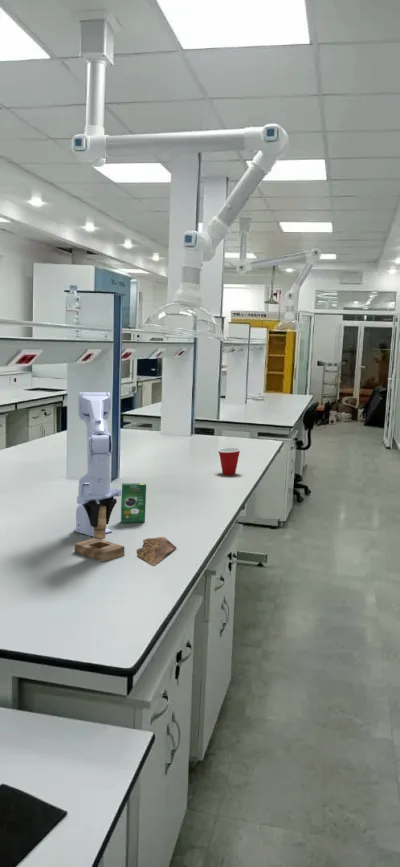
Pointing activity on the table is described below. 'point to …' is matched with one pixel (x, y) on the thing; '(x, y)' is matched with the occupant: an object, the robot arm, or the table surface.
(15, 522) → the table surface
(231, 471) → the plastic cup
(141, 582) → the table surface
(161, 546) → the wooden fragment
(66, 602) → the table surface
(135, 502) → the coffee box
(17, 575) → the table surface
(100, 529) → the peg
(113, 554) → the board
